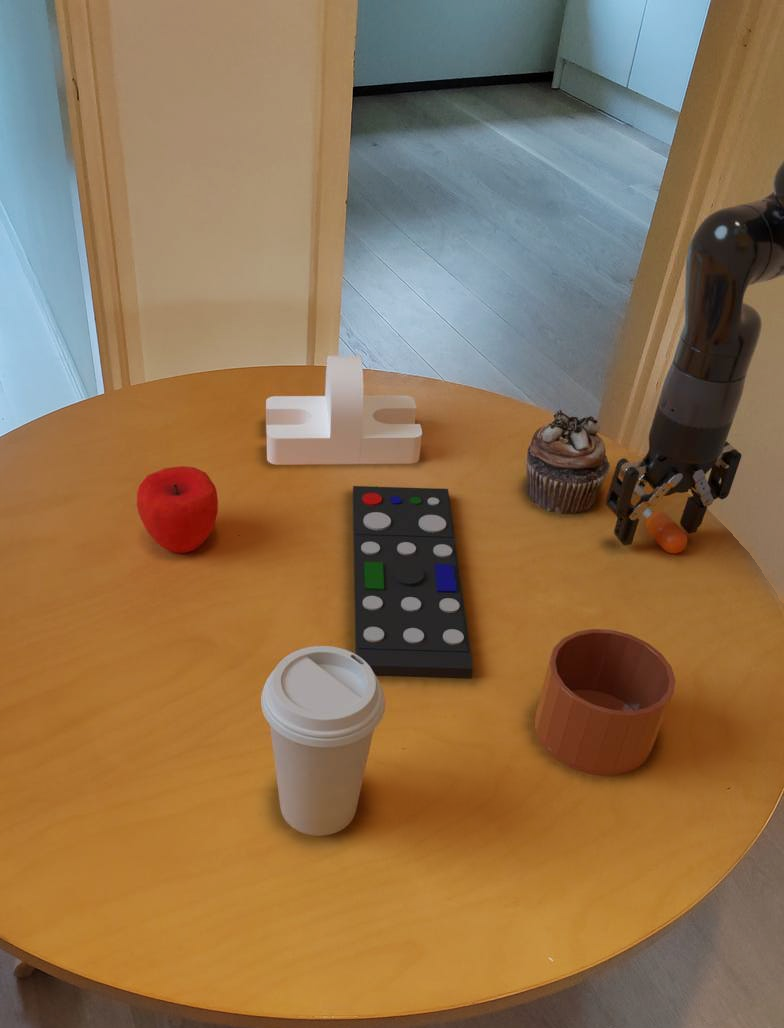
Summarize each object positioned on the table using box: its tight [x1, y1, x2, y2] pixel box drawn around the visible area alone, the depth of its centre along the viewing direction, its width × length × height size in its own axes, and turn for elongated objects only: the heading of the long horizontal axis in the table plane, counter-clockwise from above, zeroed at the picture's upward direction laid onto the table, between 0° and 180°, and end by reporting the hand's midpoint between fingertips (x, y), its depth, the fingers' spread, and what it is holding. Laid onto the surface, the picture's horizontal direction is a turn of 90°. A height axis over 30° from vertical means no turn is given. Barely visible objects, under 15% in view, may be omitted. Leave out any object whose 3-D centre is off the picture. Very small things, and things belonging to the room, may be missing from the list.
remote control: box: [352, 485, 474, 680], centre depth 109 cm, size 11×30×2 cm, turn 179°
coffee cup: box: [260, 645, 386, 837], centre depth 82 cm, size 10×10×15 cm
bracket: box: [265, 354, 423, 466], centre depth 126 cm, size 19×10×11 cm, turn 93°
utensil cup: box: [534, 628, 676, 777], centre depth 91 cm, size 11×11×8 cm
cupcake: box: [525, 409, 611, 515], centre depth 119 cm, size 10×10×10 cm
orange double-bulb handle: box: [641, 507, 688, 554], centre depth 115 cm, size 8×3×3 cm
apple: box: [136, 465, 219, 554], centre depth 111 cm, size 9×9×8 cm
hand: (655, 534), depth 114 cm, fingers open, 8 cm apart
